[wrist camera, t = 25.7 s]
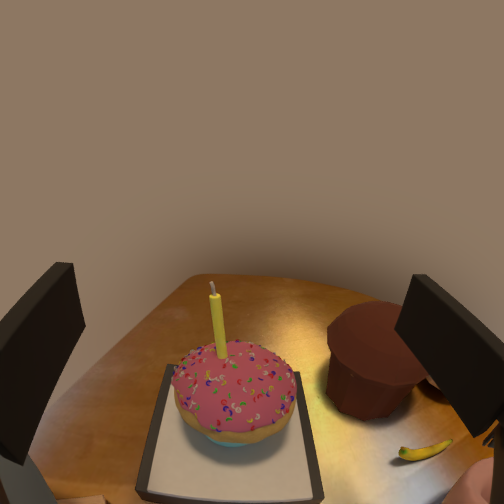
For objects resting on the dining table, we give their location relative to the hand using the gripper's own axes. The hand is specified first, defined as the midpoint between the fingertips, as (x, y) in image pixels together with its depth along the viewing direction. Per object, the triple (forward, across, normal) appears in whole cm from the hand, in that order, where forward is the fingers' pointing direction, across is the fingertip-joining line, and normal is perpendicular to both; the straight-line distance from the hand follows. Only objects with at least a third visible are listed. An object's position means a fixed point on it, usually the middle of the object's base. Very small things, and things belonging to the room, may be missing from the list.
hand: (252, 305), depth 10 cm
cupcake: (+5, 0, -15) cm, 15 cm away
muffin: (+10, +15, -18) cm, 25 cm away
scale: (+5, 0, -17) cm, 18 cm away
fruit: (-1, +17, -18) cm, 24 cm away
